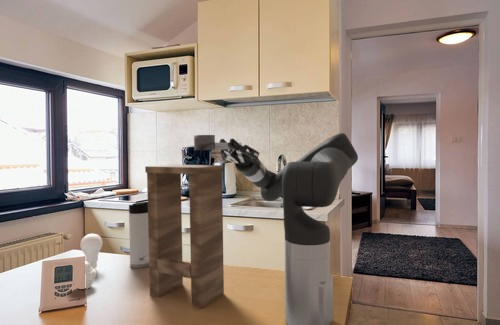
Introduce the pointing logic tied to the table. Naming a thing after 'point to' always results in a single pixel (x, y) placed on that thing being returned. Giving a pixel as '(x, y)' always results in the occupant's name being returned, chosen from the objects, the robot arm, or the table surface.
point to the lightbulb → (91, 248)
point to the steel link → (209, 143)
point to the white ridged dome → (89, 274)
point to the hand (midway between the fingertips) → (226, 141)
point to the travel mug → (139, 235)
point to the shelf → (201, 231)
